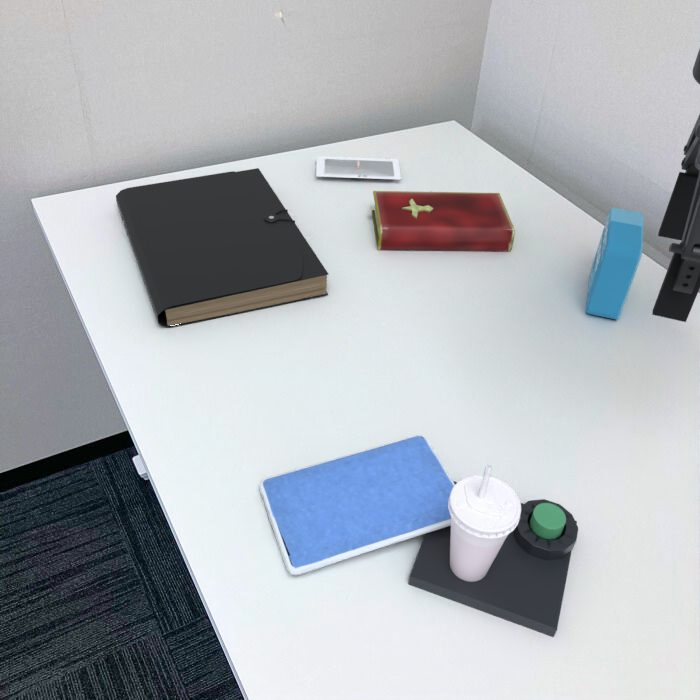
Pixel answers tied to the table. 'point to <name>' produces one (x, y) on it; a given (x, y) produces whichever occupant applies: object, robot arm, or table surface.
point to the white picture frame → (357, 167)
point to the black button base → (505, 573)
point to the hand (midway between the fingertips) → (670, 274)
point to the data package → (615, 263)
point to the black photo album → (217, 247)
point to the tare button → (547, 521)
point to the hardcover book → (441, 221)
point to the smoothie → (480, 523)
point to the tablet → (357, 503)
